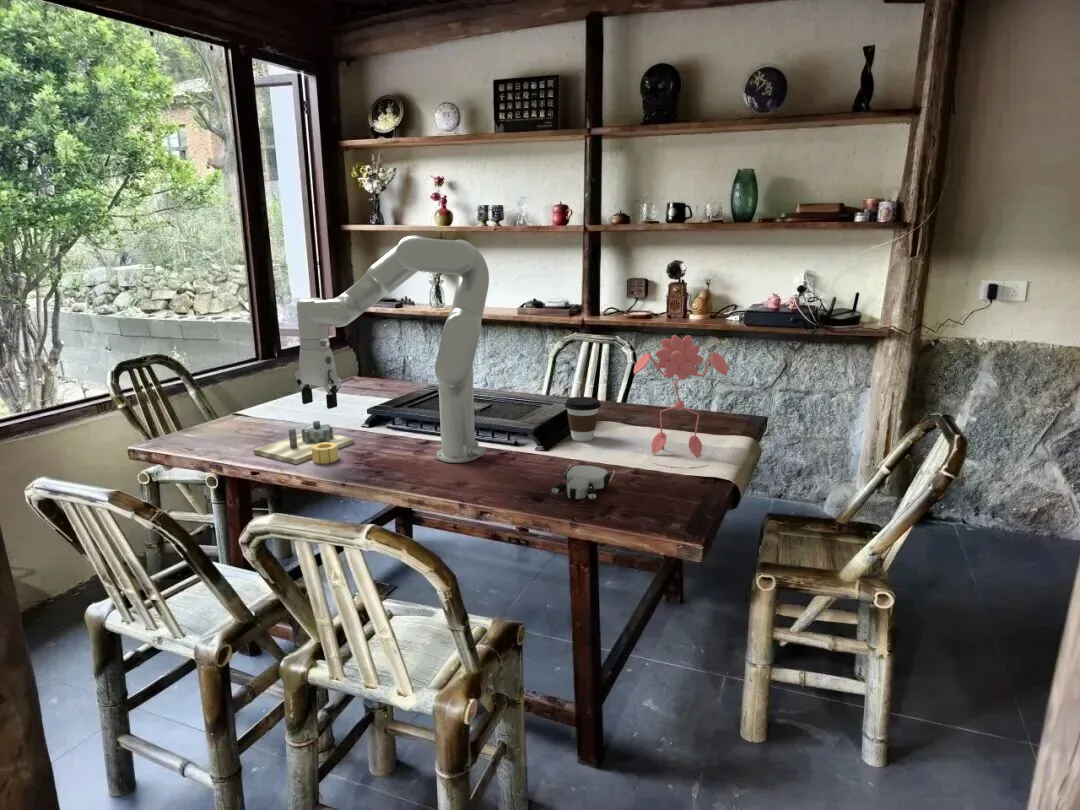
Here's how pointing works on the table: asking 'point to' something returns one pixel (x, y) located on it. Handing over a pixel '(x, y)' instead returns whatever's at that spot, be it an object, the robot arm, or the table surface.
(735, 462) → the table surface
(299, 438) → the gear board
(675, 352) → the dancing flower figure
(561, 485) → the robot toy
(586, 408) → the coffee cup
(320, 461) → the ochre gear
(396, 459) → the table surface
